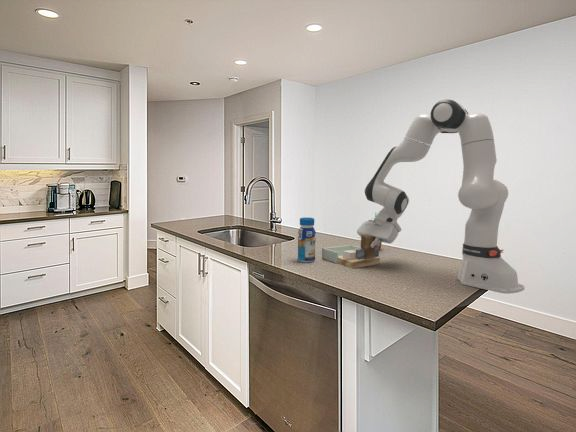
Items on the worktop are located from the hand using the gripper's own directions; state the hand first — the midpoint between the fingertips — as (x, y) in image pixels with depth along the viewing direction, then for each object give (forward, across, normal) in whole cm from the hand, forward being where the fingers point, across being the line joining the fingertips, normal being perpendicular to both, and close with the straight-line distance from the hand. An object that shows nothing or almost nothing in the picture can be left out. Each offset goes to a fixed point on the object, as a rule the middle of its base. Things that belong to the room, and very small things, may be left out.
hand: (366, 245), depth 161 cm
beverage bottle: (+19, -21, -6) cm, 29 cm away
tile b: (+6, -8, +3) cm, 10 cm away
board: (+6, -5, +7) cm, 11 cm away
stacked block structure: (+3, 0, +4) cm, 5 cm away
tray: (+6, -16, +7) cm, 18 cm away
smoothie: (-14, -24, +27) cm, 39 cm away
